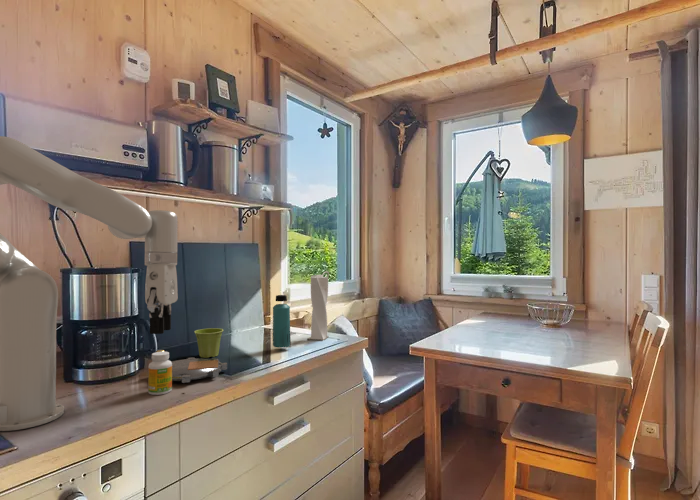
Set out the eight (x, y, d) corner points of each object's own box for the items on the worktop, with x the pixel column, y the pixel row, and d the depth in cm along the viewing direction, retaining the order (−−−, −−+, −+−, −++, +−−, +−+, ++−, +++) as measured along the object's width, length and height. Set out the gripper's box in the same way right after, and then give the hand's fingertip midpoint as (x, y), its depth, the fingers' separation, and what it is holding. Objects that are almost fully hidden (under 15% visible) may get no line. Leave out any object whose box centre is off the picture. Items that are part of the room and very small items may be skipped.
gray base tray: (227, 378, 110) (227, 354, 110) (141, 386, 104) (142, 360, 104) (226, 359, 130) (226, 339, 130) (154, 365, 124) (154, 343, 124)
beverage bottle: (288, 351, 145) (289, 295, 146) (270, 351, 146) (270, 295, 146) (291, 347, 152) (292, 294, 152) (274, 347, 152) (274, 294, 152)
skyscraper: (331, 337, 171) (332, 271, 172) (326, 341, 163) (326, 271, 164) (312, 336, 173) (313, 270, 174) (306, 340, 165) (306, 271, 166)
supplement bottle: (156, 396, 99) (156, 356, 99) (143, 393, 102) (144, 354, 102) (176, 390, 104) (176, 352, 104) (163, 387, 106) (163, 349, 107)
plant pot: (214, 360, 134) (214, 333, 134) (188, 358, 136) (188, 332, 136) (228, 353, 143) (228, 328, 143) (203, 352, 145) (204, 327, 145)
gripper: (164, 259, 95) (163, 338, 95) (186, 259, 112) (186, 325, 112) (131, 259, 95) (130, 338, 94) (158, 259, 111) (157, 326, 111)
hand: (160, 331), depth 103 cm, fingers open, 4 cm apart
